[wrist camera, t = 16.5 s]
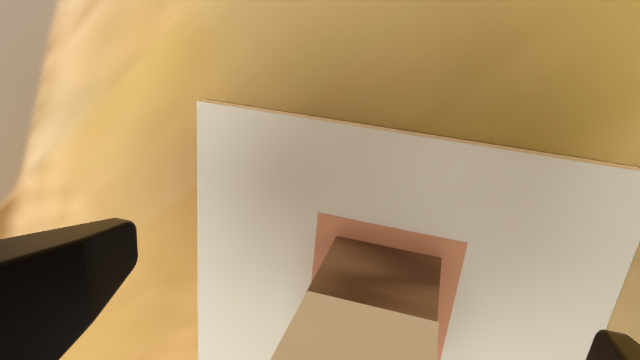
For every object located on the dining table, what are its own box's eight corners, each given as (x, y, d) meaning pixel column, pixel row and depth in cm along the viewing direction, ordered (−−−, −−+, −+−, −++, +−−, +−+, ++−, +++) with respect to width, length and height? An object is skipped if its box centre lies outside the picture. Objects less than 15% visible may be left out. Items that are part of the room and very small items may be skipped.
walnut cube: (441, 257, 22) (436, 323, 17) (423, 344, 23) (415, 425, 19) (336, 235, 23) (306, 292, 18) (327, 320, 24) (296, 390, 20)
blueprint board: (659, 170, 19) (666, 176, 18) (550, 457, 24) (552, 469, 24) (203, 98, 23) (195, 101, 22) (202, 357, 29) (197, 364, 28)
